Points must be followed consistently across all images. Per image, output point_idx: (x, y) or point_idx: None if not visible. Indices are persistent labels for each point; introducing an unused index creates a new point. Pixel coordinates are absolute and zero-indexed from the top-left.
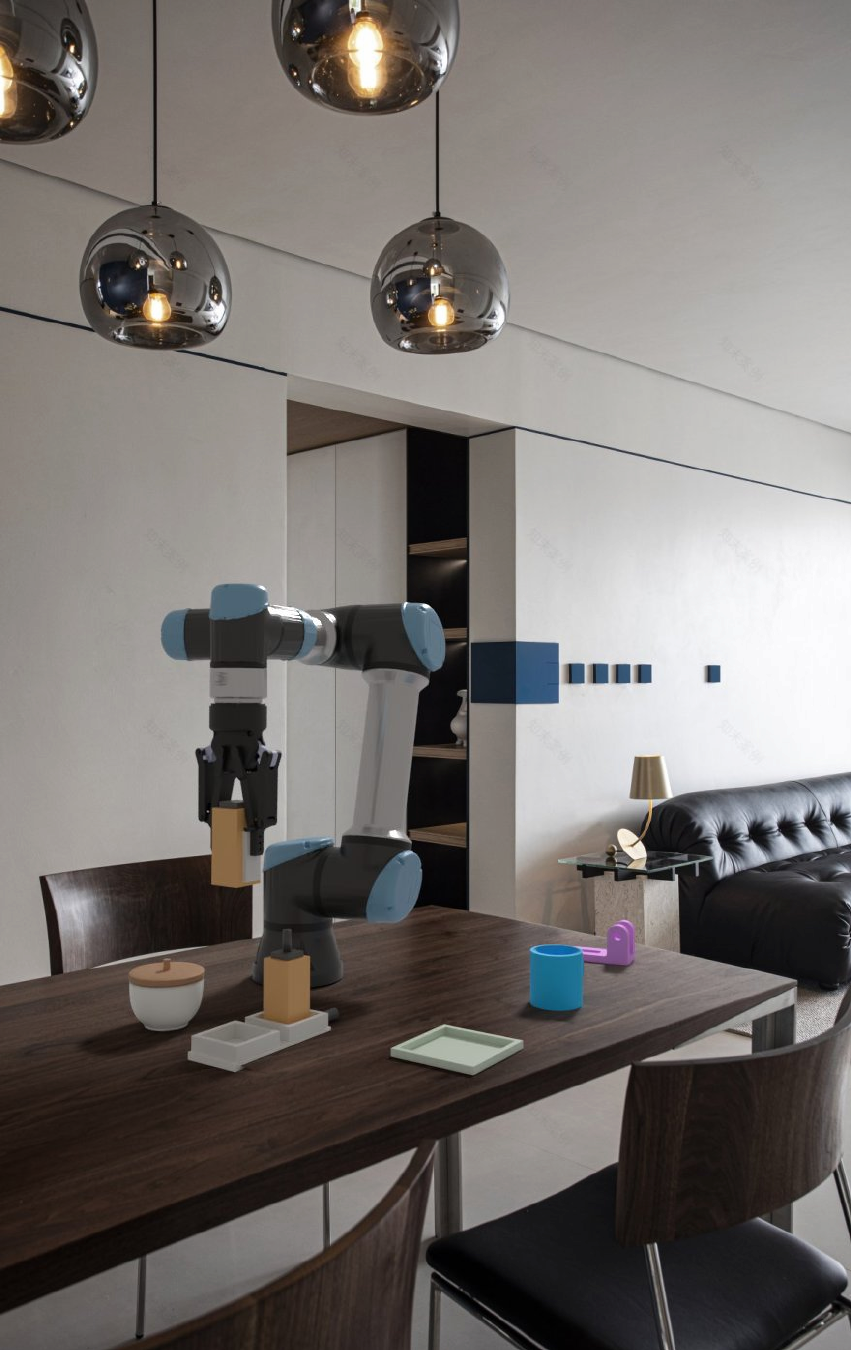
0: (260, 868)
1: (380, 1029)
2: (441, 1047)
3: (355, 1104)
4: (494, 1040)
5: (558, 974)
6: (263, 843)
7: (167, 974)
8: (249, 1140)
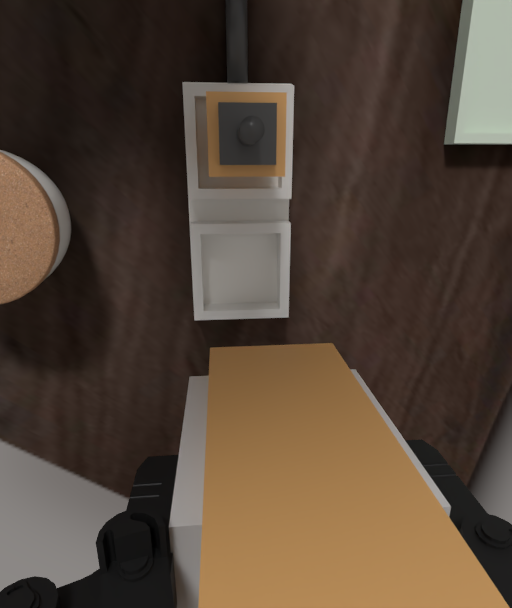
0: (368, 389)
1: (347, 3)
2: (501, 55)
3: (477, 304)
4: None
5: None
6: (457, 479)
7: (6, 256)
8: (429, 433)
